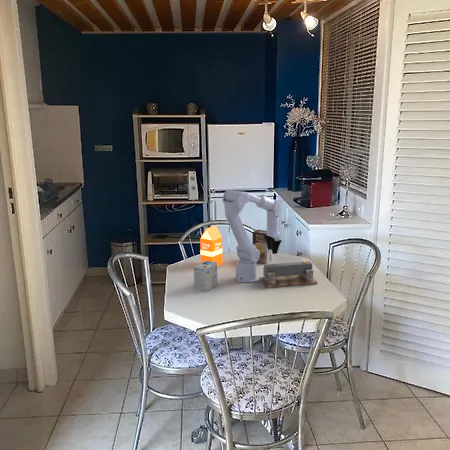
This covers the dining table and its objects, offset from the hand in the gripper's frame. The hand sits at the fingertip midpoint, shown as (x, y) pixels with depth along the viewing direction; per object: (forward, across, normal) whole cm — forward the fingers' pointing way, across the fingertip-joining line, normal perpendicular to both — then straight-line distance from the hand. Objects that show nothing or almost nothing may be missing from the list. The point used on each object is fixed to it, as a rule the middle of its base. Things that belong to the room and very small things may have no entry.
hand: (272, 251), depth 230 cm
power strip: (+7, -15, -3) cm, 17 cm away
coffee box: (+11, +18, 0) cm, 21 cm away
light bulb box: (+11, -13, +35) cm, 39 cm away
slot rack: (+10, -15, -3) cm, 18 cm away
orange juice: (+11, +18, +27) cm, 34 cm away
